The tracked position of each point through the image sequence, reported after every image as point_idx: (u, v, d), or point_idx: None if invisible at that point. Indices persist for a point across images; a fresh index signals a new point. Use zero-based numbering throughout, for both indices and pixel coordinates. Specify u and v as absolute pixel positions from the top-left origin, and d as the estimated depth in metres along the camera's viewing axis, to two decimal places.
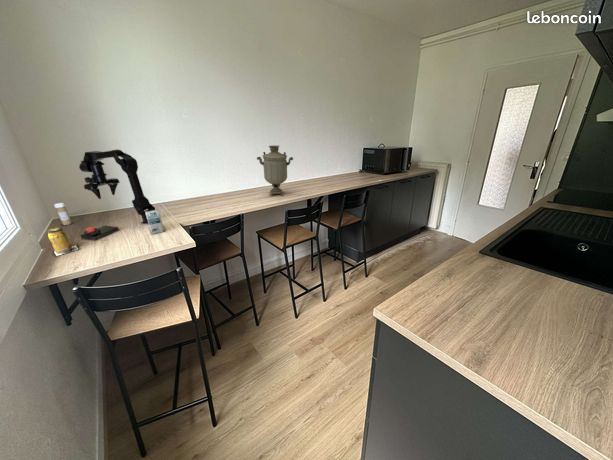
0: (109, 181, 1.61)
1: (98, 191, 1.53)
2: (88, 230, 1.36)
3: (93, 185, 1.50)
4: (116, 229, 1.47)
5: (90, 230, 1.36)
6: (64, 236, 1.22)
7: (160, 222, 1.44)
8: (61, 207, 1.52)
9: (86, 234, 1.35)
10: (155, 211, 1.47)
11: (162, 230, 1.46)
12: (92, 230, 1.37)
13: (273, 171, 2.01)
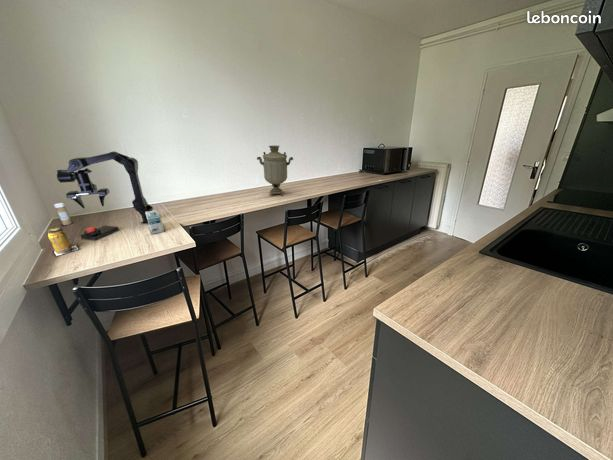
0: (97, 191, 1.46)
1: (76, 201, 1.42)
2: (88, 230, 1.36)
3: (69, 194, 1.39)
4: (116, 229, 1.47)
5: (90, 230, 1.36)
6: (64, 236, 1.22)
7: (160, 222, 1.44)
8: (61, 207, 1.52)
9: (86, 234, 1.35)
10: (155, 211, 1.47)
11: (162, 230, 1.46)
12: (92, 230, 1.37)
13: (273, 171, 2.01)
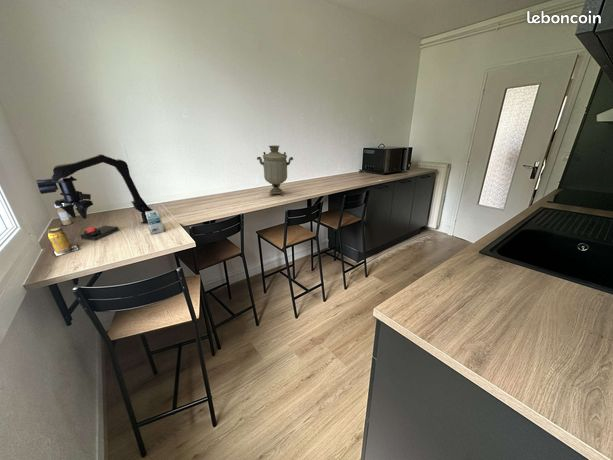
0: None
1: (64, 209, 1.33)
2: (88, 230, 1.36)
3: (56, 202, 1.32)
4: (116, 229, 1.47)
5: (90, 230, 1.36)
6: (64, 236, 1.22)
7: (160, 222, 1.44)
8: None
9: (86, 234, 1.35)
10: (155, 211, 1.47)
11: (162, 230, 1.46)
12: (92, 230, 1.37)
13: (273, 171, 2.01)
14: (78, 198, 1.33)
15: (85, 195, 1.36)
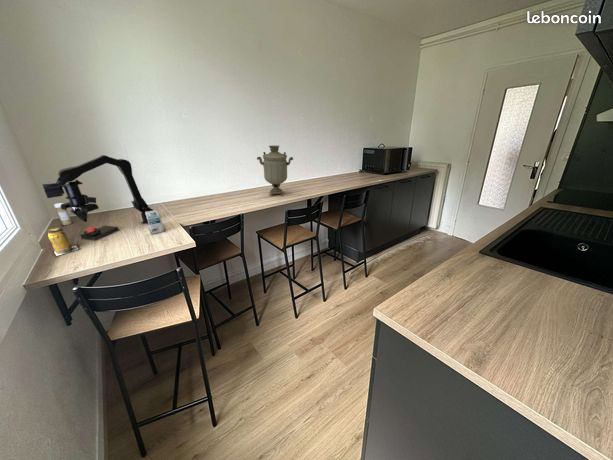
0: None
1: (75, 213, 1.33)
2: (88, 230, 1.36)
3: (62, 205, 1.32)
4: (116, 229, 1.47)
5: (90, 230, 1.36)
6: (64, 236, 1.22)
7: (160, 222, 1.44)
8: None
9: (86, 234, 1.35)
10: (155, 211, 1.47)
11: (162, 230, 1.46)
12: (92, 230, 1.37)
13: (273, 171, 2.01)
14: (84, 202, 1.33)
15: (90, 198, 1.36)
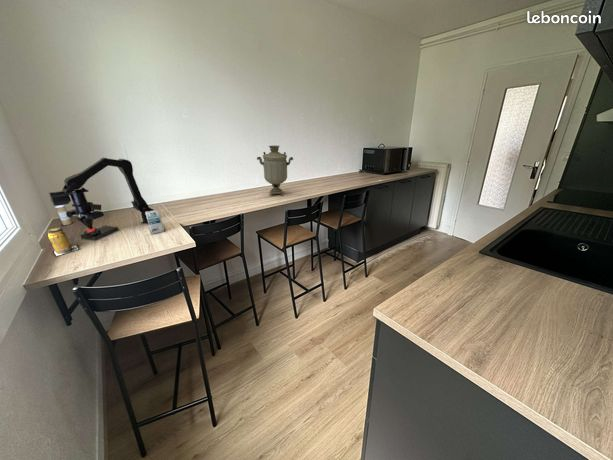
0: None
1: (80, 221, 1.34)
2: (88, 231, 1.36)
3: (68, 213, 1.33)
4: (116, 229, 1.47)
5: (90, 231, 1.37)
6: (64, 236, 1.22)
7: (160, 222, 1.44)
8: (61, 207, 1.52)
9: (86, 234, 1.35)
10: (155, 211, 1.47)
11: (162, 230, 1.46)
12: (92, 231, 1.37)
13: (273, 171, 2.01)
14: (89, 209, 1.34)
15: (96, 206, 1.37)
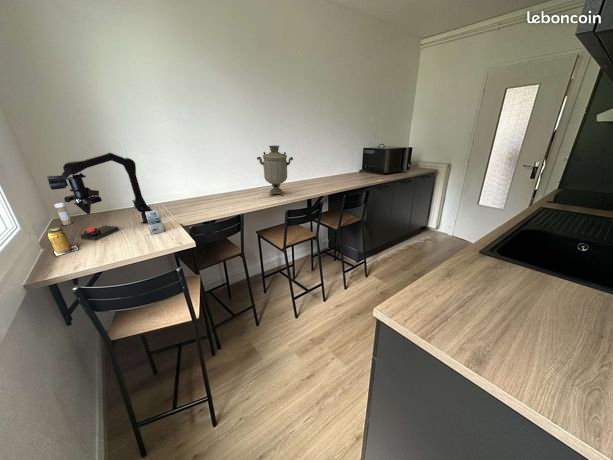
0: None
1: (78, 206, 1.36)
2: (88, 230, 1.36)
3: (66, 198, 1.35)
4: (116, 229, 1.47)
5: (90, 230, 1.36)
6: (64, 236, 1.22)
7: (160, 222, 1.44)
8: (61, 207, 1.52)
9: (86, 234, 1.35)
10: (155, 211, 1.47)
11: (162, 230, 1.46)
12: (92, 230, 1.37)
13: (273, 171, 2.01)
14: (87, 194, 1.36)
15: (94, 191, 1.40)
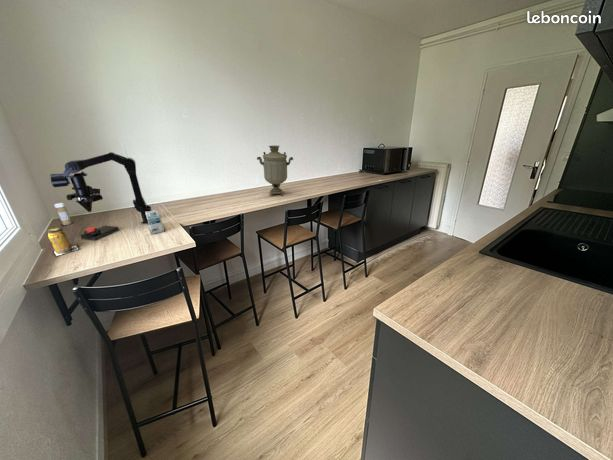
0: None
1: (80, 204, 1.39)
2: (88, 230, 1.36)
3: (68, 196, 1.39)
4: (116, 229, 1.47)
5: (90, 230, 1.36)
6: (64, 236, 1.22)
7: (160, 222, 1.44)
8: (61, 207, 1.52)
9: (86, 234, 1.35)
10: (155, 211, 1.47)
11: (162, 230, 1.46)
12: (92, 230, 1.37)
13: (273, 171, 2.01)
14: (89, 192, 1.39)
15: (95, 190, 1.43)
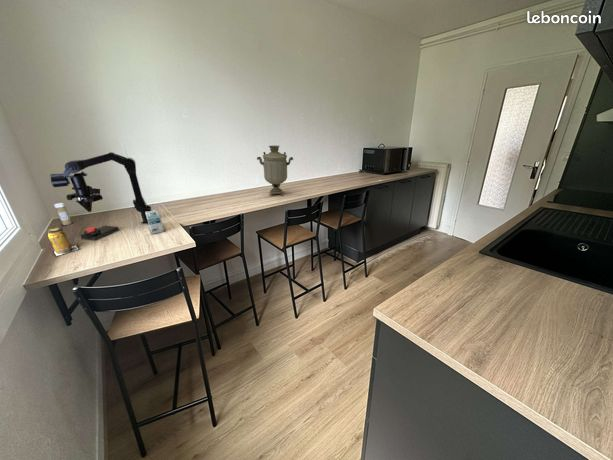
0: None
1: (80, 204, 1.39)
2: (88, 230, 1.36)
3: (68, 196, 1.39)
4: (116, 229, 1.47)
5: (90, 230, 1.36)
6: (64, 236, 1.22)
7: (160, 222, 1.44)
8: (61, 207, 1.52)
9: (86, 234, 1.35)
10: (155, 211, 1.47)
11: (162, 230, 1.46)
12: (92, 230, 1.37)
13: (273, 171, 2.01)
14: (89, 192, 1.39)
15: (95, 190, 1.43)
